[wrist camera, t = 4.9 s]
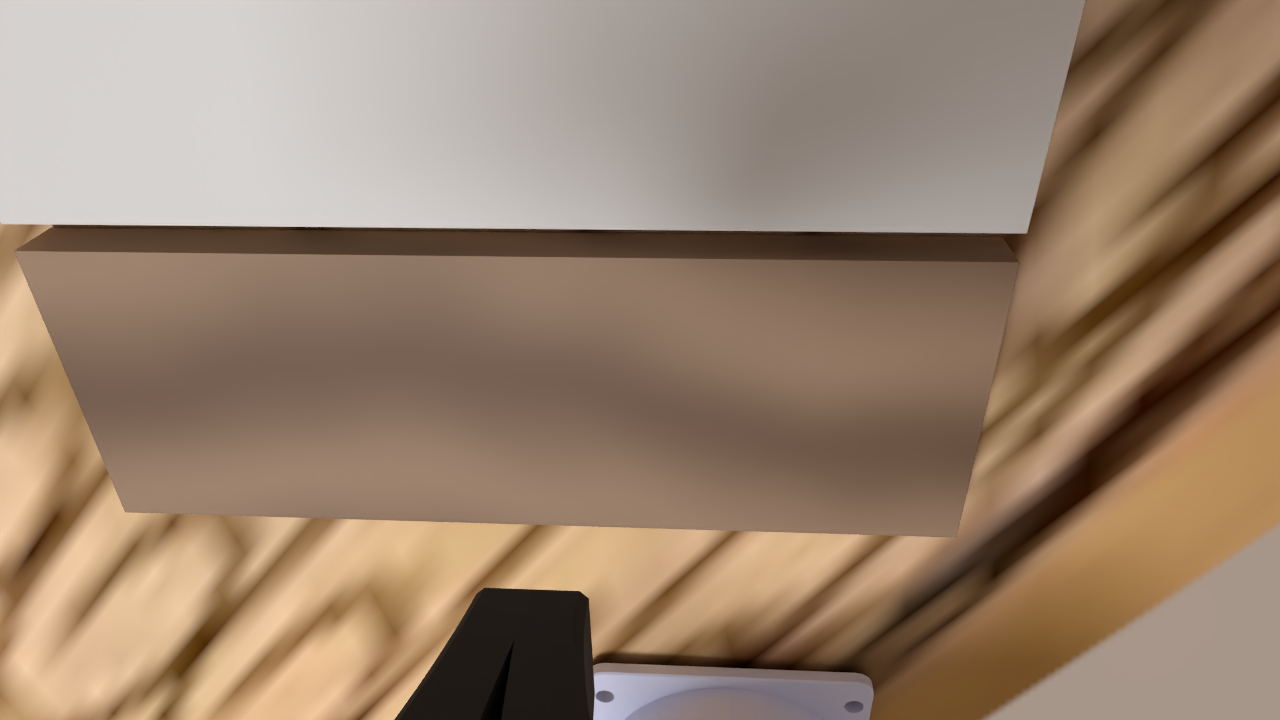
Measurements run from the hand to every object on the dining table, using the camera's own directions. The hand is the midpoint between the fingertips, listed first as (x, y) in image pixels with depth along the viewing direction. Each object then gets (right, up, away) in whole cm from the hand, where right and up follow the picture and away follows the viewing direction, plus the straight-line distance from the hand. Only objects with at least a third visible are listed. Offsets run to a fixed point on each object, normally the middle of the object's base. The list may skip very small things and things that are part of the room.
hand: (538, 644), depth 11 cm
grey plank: (-2, +10, +4) cm, 11 cm away
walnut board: (-1, +3, +9) cm, 10 cm away
